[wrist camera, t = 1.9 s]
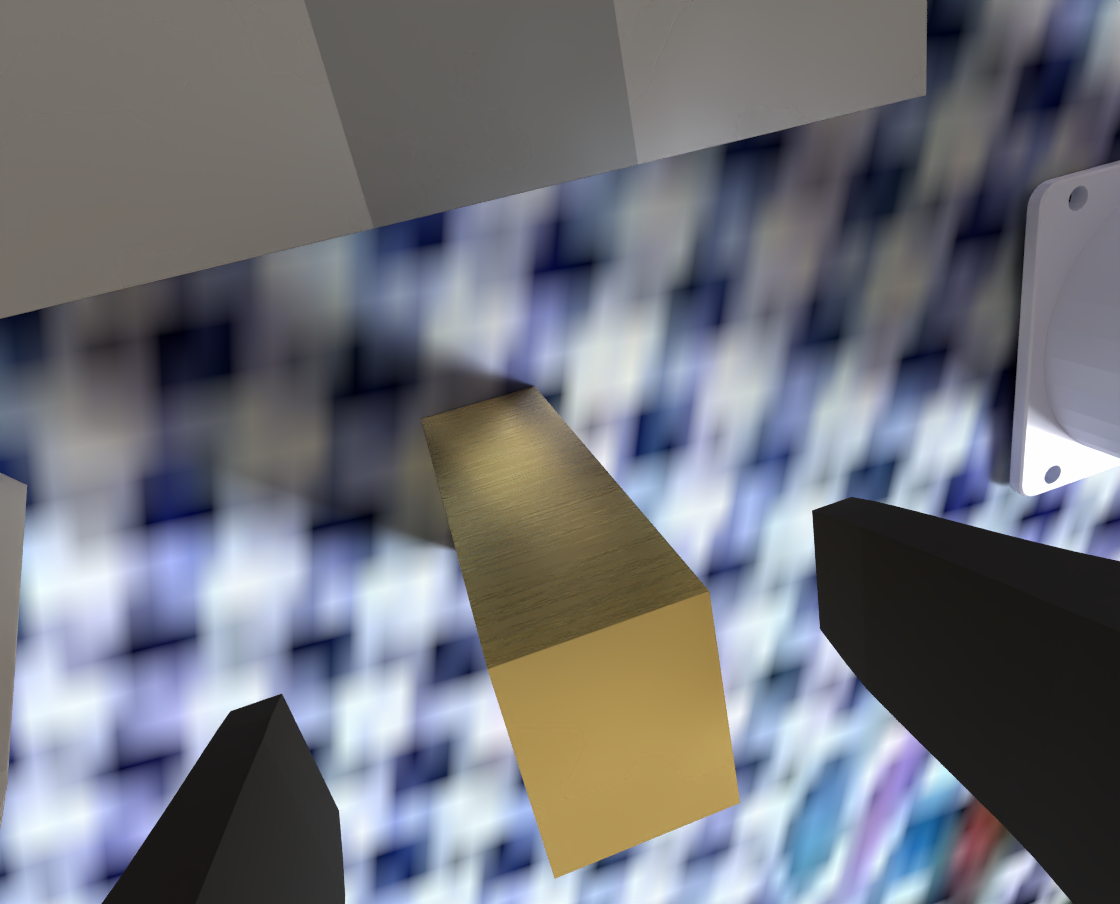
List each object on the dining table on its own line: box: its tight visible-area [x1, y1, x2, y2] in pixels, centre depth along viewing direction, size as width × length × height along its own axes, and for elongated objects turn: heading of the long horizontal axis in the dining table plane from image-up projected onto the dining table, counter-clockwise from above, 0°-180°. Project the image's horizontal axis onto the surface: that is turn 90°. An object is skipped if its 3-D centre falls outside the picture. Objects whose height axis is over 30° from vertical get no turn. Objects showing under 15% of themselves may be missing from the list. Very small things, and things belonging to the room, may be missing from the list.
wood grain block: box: [421, 386, 740, 878], centre depth 11 cm, size 2×3×8 cm
